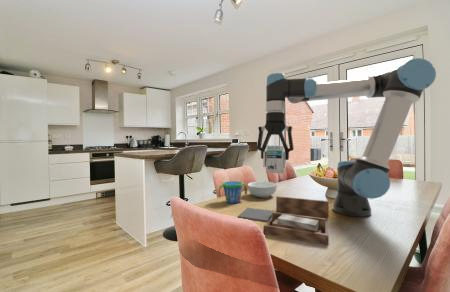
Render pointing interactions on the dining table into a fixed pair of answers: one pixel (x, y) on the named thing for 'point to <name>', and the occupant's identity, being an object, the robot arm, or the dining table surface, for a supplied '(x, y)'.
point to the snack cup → (232, 191)
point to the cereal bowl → (262, 188)
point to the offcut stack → (297, 223)
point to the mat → (256, 214)
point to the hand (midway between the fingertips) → (274, 167)
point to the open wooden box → (304, 210)
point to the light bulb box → (275, 159)
